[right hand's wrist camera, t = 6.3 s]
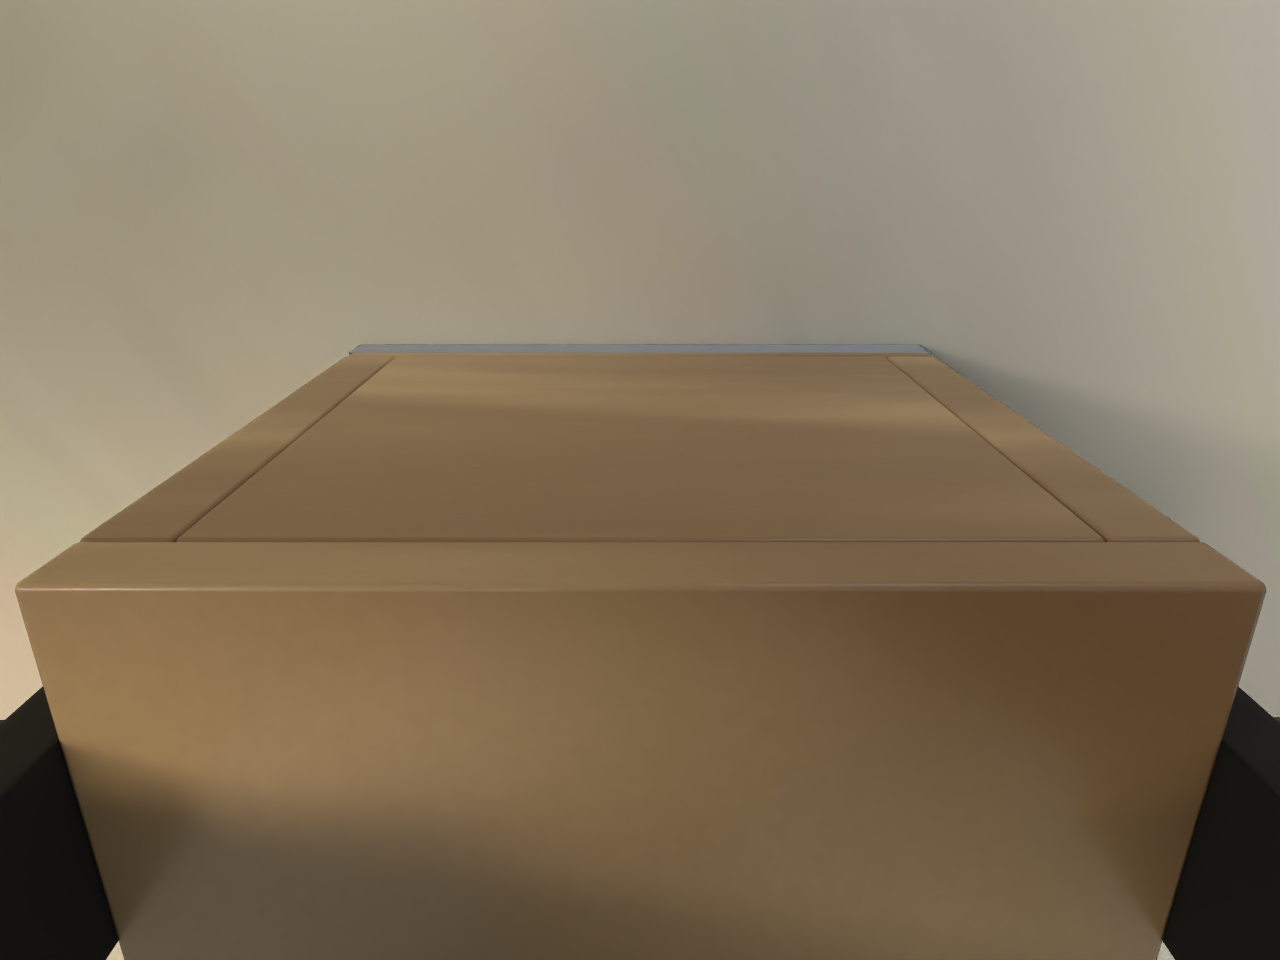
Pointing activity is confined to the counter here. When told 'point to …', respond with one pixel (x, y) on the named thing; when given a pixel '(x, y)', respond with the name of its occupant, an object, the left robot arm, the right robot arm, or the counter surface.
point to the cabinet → (640, 670)
